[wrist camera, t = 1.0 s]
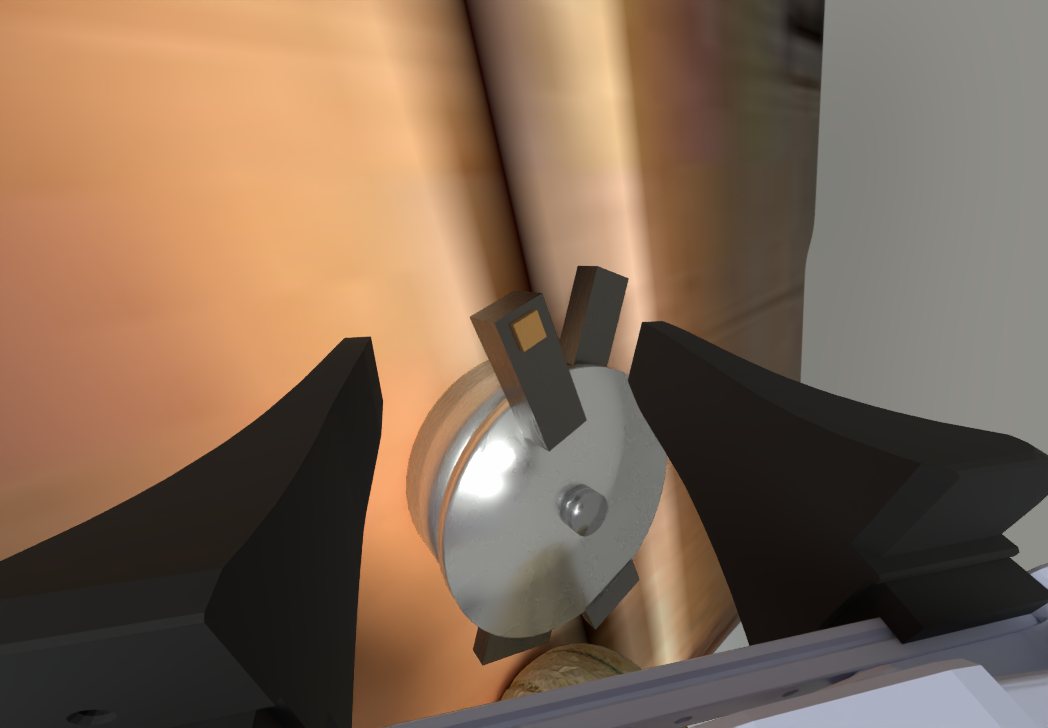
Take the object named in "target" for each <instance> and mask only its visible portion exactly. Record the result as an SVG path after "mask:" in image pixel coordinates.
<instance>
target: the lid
mask: <svg viewBox="0 0 1048 728" xmlns="http://www.w3.org/2000/svg"><path fill="white" fill-rule="evenodd" d="M470 319H471V321H472V323H473V326H474V328H475V330H476V332H477V334H478V337H479V339H480V341H481V343H482V345H483V348H484V350H485V352H486V354H487V356H488V359H489V361H490V363H491V365H492V367H493V370H494V372H495V374H496V376H497V379H498V381H499V383H500V385H501V387H502V390H503V392H504V394H505V396H506V398H504V399H503V400H502V401H501V402H500V403H499V404H498V405H497V406H496V407H495V408H494V409H493V410H492V411H491V412H490V413H489V414H488V415H487V417H486V418H485V419H484V420H483V422H482V423H481V424H480V425H479V427H478V428H477V429H476V431H475V432H474V433H473V435H472V436H471V438H470V440H469V441H468V443H467V444H466V446H465V447H464V449H463V451H462V453H461V455H460V457H459V459H458V461H457V463H456V465H455V467H454V469H453V471H452V473H451V476H450V479H449V481H448V484H447V487H446V490H445V493H444V497H443V501H442V505H441V509H440V514H439V522H438V531H437V544H438V557H439V563H440V569H441V572H442V575H443V578H444V580H445V583H446V586H447V587H448V589H449V591H450V592H451V594H452V596H453V598H454V599H455V601H456V602H457V604H458V605H459V607H460V609H461V610H462V612H463V613H464V614H465V615H466V616H467V617H468V618H469V619H470V620H471V622H473V623H474V624H475V625H477V626H478V627H480V628H481V629H482V630H484V631H487V632H489V633H491V634H494V635H497V636H502V637H508V638H523V637H529V636H536V635H539V634H542V633H545V632H549V631H551V630H553V629H555V628H558V627H560V626H562V625H564V624H566V623H567V622H569V621H571V620H572V619H574V618H576V617H577V616H579V615H580V614H581V613H582V615H583V617H584V619H585V620H586V621H587V622H588V623H589V624H590V625H591V626H592V627H593V628H594V629H595V630H596V629H597V627H598V626H599V625H600V624H601V623H602V622H603V621H604V619H605V618H606V617H607V616H608V615H609V614H610V613H611V611H612V610H613V609H614V608H615V607H616V606H617V605H618V603H619V602H620V601H621V600H622V599H623V598H624V597H625V596H626V594H627V593H628V592H629V591H630V590H631V589H632V588H633V586H634V585H635V584H636V583H637V582H638V581H639V577H638V574H637V571H636V569H635V566H634V563H633V560H632V559H633V557H634V556H635V554H636V553H637V551H638V549H639V548H640V546H641V544H642V542H643V540H644V538H645V536H646V534H647V532H648V530H649V528H650V525H651V523H652V521H653V518H654V516H655V513H656V510H657V507H658V504H659V501H660V497H661V493H662V489H663V484H664V479H665V472H666V463H667V454H666V453H665V451H664V449H663V448H662V446H661V445H660V443H659V441H658V440H657V438H656V437H655V435H654V433H653V432H652V430H651V428H650V427H649V425H648V423H647V422H646V420H645V418H644V417H643V415H642V413H641V411H640V410H639V407H638V405H637V403H636V400H635V398H634V396H633V393H632V391H631V388H630V386H629V383H628V378H629V375H628V374H626V373H623V372H621V371H619V370H615V369H612V368H608V367H604V366H600V365H595V364H573V365H567V363H566V360H565V357H564V354H563V351H562V348H561V346H560V343H559V340H558V337H557V334H556V331H555V329H554V326H553V323H552V320H551V317H550V314H549V312H548V309H547V306H546V303H545V300H544V297H543V295H542V293H533V292H524V291H513V292H511V293H509V294H508V295H506V296H504V297H503V298H501V299H499V300H498V301H496V302H494V303H492V304H491V305H489V306H487V307H486V308H484V309H482V310H481V311H479V312H477V313H476V314H474V315H472V316H470Z"/></svg>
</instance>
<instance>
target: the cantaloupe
mask: <svg viewBox="0 0 1048 728" xmlns="http://www.w3.org/2000/svg"><path fill="white" fill-rule="evenodd" d="M639 670H642V669H641V668H640V667H638V666H637V665H636V664H634V663H633V662H632V661H631V660H629V659H627V658H625V657H624V656H622V655H620V654H618V653H617V652H614V651H612V650H610V649H608V648H606V647H604V646H598V645H593V644H586V643H574V644H568V645H563V646H558V647H556V648H553V649H551V650H549V651H548V652H546V653H544V654H542V655H540V656H539V657H538V658H536V659H535V660H534V661H532V662H531V663H530V664H529V665H527V666H526V667H525V668H524V669H523V670H522V671H521V672H520V673H519V674H518V675H517V676H516V678H515V679H514V680H513V682H512V684H511V685H510V687H509V688H508V689H507V690H506V691H505V693H504V695H503V696H502V698H501V700H500V701H503V700H507V699H512V698H516V697H521V696H525V695H530V694H534V693H539V692H543V691H548V690H552V689H557V688H562V687H566V686H571V685H575V684H580V683H584V682H589V681H593V680H598V679H602V678H607V677H611V676H616V675H620V674H625V673H629V672H634V671H639ZM681 728H688V727H687V726H684V727H681Z"/></svg>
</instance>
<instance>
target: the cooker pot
mask: <svg viewBox="0 0 1048 728" xmlns="http://www.w3.org/2000/svg"><path fill="white" fill-rule="evenodd" d="M628 279H629V278H626V277H624V276H621V275H619V274H616V273H613V272H611V271H608V270H606V269H603V268H601V267H598V266H578V267H577V271H576V276H575V280H574V284H573V288H572V292H571V297H570V301H569V305H568V309H567V313H566V318H565V322H564V326H563V330H562V334H561V339H560V346H561V348H562V351H563V354H564V357H565V360H566V363H567V365H573V364H595V365H600V366H604V367H607V363H608V359H609V355H610V351H611V347H612V343H613V339H614V335H615V331H616V327H617V323H618V319H619V315H620V311H621V307H622V303H623V299H624V295H625V291H626V287H627V283H628ZM504 398H506V396H505V394H504V392H503V390H502V387H501V385H500V383H499V381H498V379H497V376H496V374H495V372H494V370H493V367H492V365H491V363H490V361H489V360H488V361H486V362H484V363H482V364H480V365H478V366H476V367H475V368H473V369H472V370H470V371H469V372H467V373H466V374H464V375H463V376H462V377H461V378H459V379H458V380H457V381H456V382H455V383H454V384H453V385H451V386H450V387H449V388H448V389H447V391H446V392H445V393H444V394H443V395H442V396H441V397H440V398H439V399H438V401H437V402H436V404H435V405H434V406H433V408H432V409H431V411H430V412H429V413H428V415H427V417H426V419H425V421H424V422H423V424H422V426H421V428H420V430H419V432H418V435H417V437H416V439H415V442H414V444H413V448H412V451H411V455H410V458H409V463H408V470H407V476H406V495H407V502H408V509H409V512H410V515H411V519H412V522H413V524H414V526H415V528H416V530H417V532H418V534H419V535H420V537H421V538H422V539H423V541H424V542H425V544H426V545H427V547H428V548H429V550H430V551H431V553H432V554H433V556H434V557H435V559H436V560H437V562H438V563H439V557H438V544H437V531H438V522H439V514H440V509H441V505H442V501H443V497H444V493H445V490H446V487H447V484H448V481H449V479H450V476H451V473H452V471H453V469H454V467H455V465H456V463H457V461H458V459H459V457H460V455H461V453H462V451H463V449H464V447H465V446H466V444H467V443H468V441H469V440H470V438H471V436H472V435H473V433H474V432H475V431H476V429H477V428H478V427H479V425H480V424H481V423H482V422H483V420H484V419H485V418H486V417H487V415H488V414H489V413H490V412H491V411H492V410H493V409H494V408H495V407H496V406H497V405H498V404H499V403H500V402H501V401H502V400H503V399H504ZM439 565H440V563H439ZM551 631H552V630H551ZM551 631H549V632H545V633H542V634H539V635H536V636H529V637H523V638H508V637H502V636H497V635H494V634H491V633H489V632H487V631H484V630H482V629H481V628H480V627H478V630H477V634H476V639H475V643H474V647H473V651H474V652H475V654H476V656H477V657H478V659H479V661H480V662H481V664H482V665H486V664H488V663H491V662H494V661H497V660H500V659H503V658H505V657H508V656H511V655H514V654H517V653H520V652H523V651H525V650H528V649H531V648H534V647H537V646H540V645H543V644H545V643H548V642H549V639H550V635H551Z"/></svg>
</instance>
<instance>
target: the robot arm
mask: <svg viewBox="0 0 1048 728" xmlns="http://www.w3.org/2000/svg"><path fill="white" fill-rule="evenodd" d="M628 383H629V386H630V388H631V391H632V393H633V396H634V398H635V400H636V403H637V405H638V407H639V410H640V411H641V413H642V415H643V417H644V418H645V420H646V422H647V423H648V425H649V427H650V428H651V430H652V432H653V433H654V435H655V437H656V438H657V440H658V441H659V443H660V445H661V446H662V448H663V449H664V451H665V453H666V454H667V456H668V458H669V459H670V461H671V463H672V464H673V466H674V467H675V469H676V471H677V472H678V474H679V476H680V478H681V479H682V481H683V483H684V485H685V487H686V489H687V491H688V493H689V495H690V497H691V499H692V501H693V503H694V506H695V508H696V510H697V512H698V514H699V516H700V518H701V521H702V523H703V525H704V527H705V530H706V532H707V534H708V537H709V539H710V541H711V544H712V546H713V548H714V551H715V553H716V555H717V558H718V561H719V563H720V566H721V568H722V571H723V573H724V576H725V578H726V581H727V584H728V586H729V589H730V591H731V594H732V597H733V599H734V602H735V605H736V608H737V611H738V614H739V617H740V620H741V622H742V625H743V628H744V631H745V633H746V636H747V640H748V643H749V646H747V647H743V648H739V649H734V650H729V651H725V652H720V653H715V654H711V655H706V656H702V657H697V658H693V659H688V660H684V661H679V662H675V663H670V664H666V665H661V666H657V667H652V668H648V669H643V670H639V671H634V672H629V673H625V674H620V675H616V676H611V677H607V678H602V679H598V680H593V681H589V682H584V683H580V684H575V685H571V686H566V687H562V688H557V689H552V690H548V691H543V692H539V693H534V694H530V695H525V696H521V697H516V698H512V699H507V700H503V701H498V702H494V703H489V704H485V705H480V706H476V707H471V708H466V709H462V710H457V711H453V712H448V713H444V714H439V715H435V716H430V717H426V718H421V719H417V720H412V721H408V722H403V723H399V724H394V725H390V726H385V727H380V728H681V727H684V726H688V725H692V724H696V723H700V722H704V721H708V720H712V719H715V720H712V721H709V722H706V723H703V724H700V725H697V726H694V727H692V728H1048V563H1047V564H1044V565H1040V566H1038V567H1036V568H1033V569H1031V570H1029V571H1025V570H1024V569H1023V568H1022V567H1020V566H1019V565H1018V564H1017V563H1016V562H1014V561H1013V560H1012V559H1011V558H1010V557H1013V556H1015V555H1017V554H1018V553H1019V549H1018V547H1017V546H1016V545H1015V544H1013V543H1012V542H1011V541H1010V540H1008V539H1007V538H1006V537H1005V536H1003V535H1002V533H1003V532H1004V531H1006V530H1007V529H1008V528H1009V527H1011V526H1012V525H1013V524H1014V523H1015V522H1017V521H1018V520H1019V519H1020V518H1022V517H1023V516H1024V515H1025V514H1027V513H1028V512H1029V511H1030V510H1031V509H1032V508H1034V507H1035V506H1036V505H1037V504H1039V503H1040V502H1041V501H1042V500H1043V499H1044V498H1045V497H1046V496H1047V495H1048V455H1047V454H1045V453H1043V452H1042V451H1040V450H1039V449H1037V448H1035V447H1034V446H1032V445H1030V444H1029V443H1027V442H1025V441H1023V440H1020V439H1018V438H1015V437H1013V436H1010V435H1007V434H1001V433H996V432H990V431H985V430H980V429H974V428H969V427H964V426H958V425H953V424H947V423H942V422H937V421H933V420H928V419H924V418H920V417H915V416H911V415H907V414H903V413H898V412H894V411H890V410H886V409H883V408H879V407H874V406H871V405H868V404H864V403H861V402H857V401H854V400H851V399H847V398H844V397H841V396H837V395H834V394H831V393H828V392H825V391H822V390H819V389H816V388H813V387H811V386H808V385H805V384H803V383H800V382H797V381H794V380H792V379H789V378H786V377H784V376H781V375H779V374H776V373H774V372H772V371H769V370H767V369H765V368H763V367H760V366H758V365H756V364H753V363H751V362H749V361H747V360H745V359H743V358H740V357H738V356H736V355H734V354H732V353H730V352H728V351H726V350H724V349H722V348H720V347H718V346H716V345H714V344H712V343H710V342H708V341H706V340H704V339H701V338H699V337H697V336H695V335H693V334H691V333H689V332H687V331H685V330H683V329H681V328H679V327H676V326H674V325H671V324H669V323H666V322H663V321H656V322H642V325H641V329H640V333H639V337H638V341H637V345H636V349H635V353H634V357H633V361H632V365H631V370H630V374H629V378H628ZM382 412H383V398H382V393H381V388H380V382H379V377H378V372H377V366H376V361H375V356H374V351H373V345H372V340H371V337H354V338H344V339H343V340H342V341H341V342H340V343H339V344H338V345H337V346H336V347H335V348H334V349H333V350H332V351H331V352H330V353H329V354H328V355H327V356H326V357H325V358H324V359H323V360H322V361H321V362H320V363H319V364H318V365H317V366H316V367H315V368H314V369H313V370H312V371H311V372H310V373H309V374H308V375H307V376H306V377H305V378H304V379H303V380H302V381H301V382H300V383H299V384H298V385H296V386H295V387H294V388H293V389H292V390H291V391H290V392H288V393H287V394H286V395H285V396H284V397H283V398H282V399H280V400H279V401H278V402H277V403H276V404H275V405H273V406H272V407H271V408H270V409H269V410H268V411H266V412H265V413H264V414H263V415H261V416H260V417H259V418H257V419H256V420H255V421H254V422H252V423H251V424H250V425H248V426H247V427H245V428H244V429H243V430H241V431H240V432H238V433H237V434H236V435H234V436H233V437H232V438H230V439H229V440H227V441H226V442H224V443H223V444H221V445H220V446H218V447H217V448H215V449H214V450H212V451H210V452H209V453H207V454H206V455H204V456H202V457H201V458H199V459H198V460H196V461H194V462H193V463H191V464H189V465H188V466H186V467H185V468H183V469H181V470H180V471H178V472H177V473H175V474H173V475H172V476H170V477H168V478H167V479H165V480H163V481H161V482H159V483H158V484H156V485H154V486H152V487H150V488H149V489H147V490H145V491H143V492H141V493H140V494H138V495H136V496H134V497H132V498H130V499H128V500H126V501H125V502H123V503H121V504H119V505H117V506H115V507H113V508H111V509H109V510H107V511H105V512H104V513H102V514H100V515H98V516H96V517H94V518H92V519H90V520H88V521H86V522H84V523H82V524H79V525H77V526H75V527H73V528H71V529H69V530H67V531H64V532H62V533H60V534H58V535H56V536H54V537H52V538H49V539H47V540H45V541H43V542H41V543H39V544H37V545H34V546H32V547H30V548H28V549H26V550H24V551H22V552H19V553H17V554H15V555H13V556H11V557H9V558H7V559H4V560H2V561H0V728H352V706H353V681H354V659H355V642H356V624H357V608H358V594H359V579H360V566H361V554H362V543H363V531H364V524H365V517H366V511H367V506H368V501H369V496H370V491H371V485H372V480H373V475H374V470H375V465H376V460H377V454H378V449H379V444H380V438H381V430H382ZM724 716H725V717H724ZM720 717H722V718H720ZM716 718H719V719H716Z"/></svg>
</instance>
